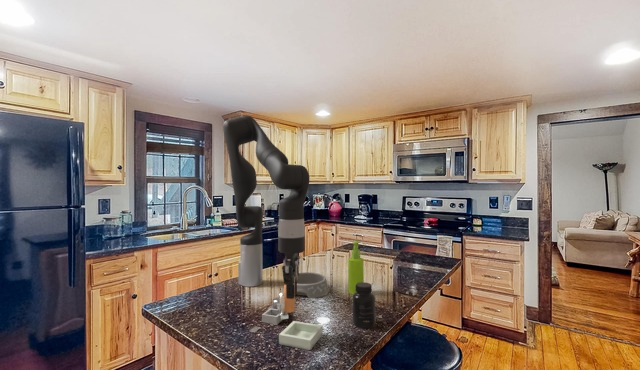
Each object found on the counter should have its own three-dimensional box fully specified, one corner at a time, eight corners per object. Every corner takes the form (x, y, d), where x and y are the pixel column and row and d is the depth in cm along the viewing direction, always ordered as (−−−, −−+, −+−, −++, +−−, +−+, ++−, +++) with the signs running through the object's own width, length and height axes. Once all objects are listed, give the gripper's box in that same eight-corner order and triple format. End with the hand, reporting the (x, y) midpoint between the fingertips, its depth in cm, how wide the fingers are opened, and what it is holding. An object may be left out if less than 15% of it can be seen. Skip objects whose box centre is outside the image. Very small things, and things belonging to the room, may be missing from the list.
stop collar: (261, 322, 96) (261, 314, 96) (270, 315, 101) (270, 308, 101) (276, 324, 94) (276, 317, 94) (284, 317, 99) (284, 310, 99)
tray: (278, 344, 82) (278, 334, 82) (293, 329, 91) (293, 320, 91) (310, 350, 79) (310, 340, 79) (322, 334, 88) (322, 325, 88)
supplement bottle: (350, 319, 97) (350, 281, 97) (372, 318, 98) (371, 280, 98) (355, 329, 90) (354, 288, 90) (378, 328, 91) (377, 287, 91)
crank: (272, 305, 106) (272, 281, 106) (283, 304, 107) (283, 280, 107) (277, 324, 91) (277, 296, 91) (291, 322, 92) (291, 294, 92)
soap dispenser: (366, 290, 124) (365, 240, 124) (361, 295, 118) (360, 243, 118) (352, 288, 127) (352, 239, 127) (346, 293, 121) (346, 242, 121)
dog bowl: (324, 300, 115) (324, 285, 115) (276, 297, 118) (276, 282, 118) (332, 285, 131) (332, 273, 131) (290, 283, 135) (290, 270, 135)
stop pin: (282, 311, 87) (282, 272, 87) (287, 307, 90) (287, 269, 90) (292, 313, 86) (292, 273, 86) (296, 309, 89) (296, 270, 89)
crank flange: (241, 329, 91) (241, 326, 91) (274, 305, 109) (274, 302, 109) (262, 333, 88) (262, 330, 88) (292, 308, 106) (292, 305, 106)
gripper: (300, 238, 81) (300, 305, 80) (308, 231, 95) (308, 288, 94) (272, 238, 82) (272, 304, 81) (284, 231, 95) (284, 287, 95)
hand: (291, 295), depth 88 cm, fingers closed on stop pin, 3 cm apart
